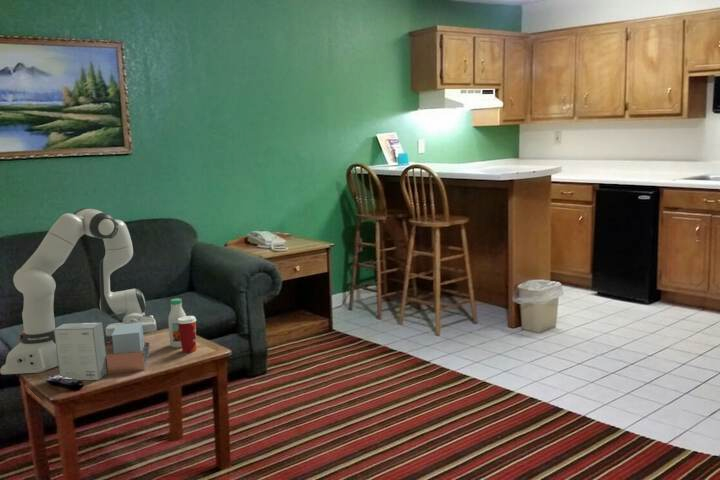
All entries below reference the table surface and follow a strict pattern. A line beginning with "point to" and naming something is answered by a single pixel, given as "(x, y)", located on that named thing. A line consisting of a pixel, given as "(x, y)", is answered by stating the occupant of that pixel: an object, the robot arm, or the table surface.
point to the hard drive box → (81, 351)
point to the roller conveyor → (127, 361)
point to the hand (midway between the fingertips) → (129, 333)
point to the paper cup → (187, 333)
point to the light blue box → (128, 338)
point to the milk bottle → (175, 322)
